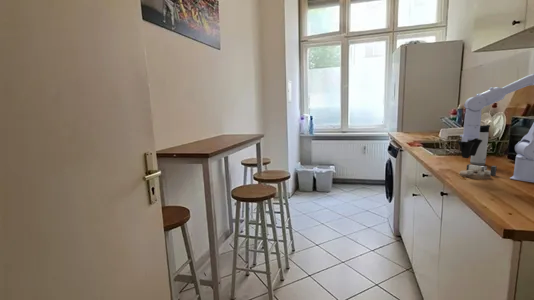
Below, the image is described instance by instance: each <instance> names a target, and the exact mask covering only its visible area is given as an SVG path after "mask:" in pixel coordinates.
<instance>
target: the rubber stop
mask: <svg viewBox="0 0 534 300" xmlns="http://www.w3.org/2000/svg"><path fill="white" fill-rule="evenodd" d="M497 166H498V165H492V166H490V171H491V174H490V175H491V176H492V177H495V176H497V175H496V174H497Z"/></svg>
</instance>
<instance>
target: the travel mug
mask: <svg viewBox="0 0 534 300" xmlns="http://www.w3.org/2000/svg"><path fill="white" fill-rule="evenodd" d="M490 127H491V124H486V125H485V124H484V125H480V133H479V136H480V138H479V139H480V140H482V142H481V143H480V145H479V147H478V149H477V152H476V154H475V156H471V155H470V160H469V161H470V162H469V163H470V164H471V165H477V166H486V160H487V150H488V144H489V143H488V142H489V135H490Z"/></svg>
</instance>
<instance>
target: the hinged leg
mask: <svg viewBox="0 0 534 300" xmlns="http://www.w3.org/2000/svg"><path fill="white" fill-rule="evenodd" d="M465 169H466V170H473V171H475V172H478V171H483V172H484V170H488V166H487V165H474V164H471V163H470V164H469V163H468V164H467V165H466V168H465Z"/></svg>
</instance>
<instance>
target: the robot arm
mask: <svg viewBox="0 0 534 300" xmlns="http://www.w3.org/2000/svg"><path fill="white" fill-rule="evenodd" d="M528 86H534V73H531V74H528V75H526V76H524V77H522V78H520V79H517V80H515V81H513V82H511V83H508V84H507V85H505V86H503V87H499V86H495V87H494V86H492V87H489V88H488V90H486V91H484V92H481V93H476V95H475V96H472V97H471V96H470V97H469V98H466V100H465V102H464V104H463V106H464V108H465V114H464V121H463V122H464V123H463V131H462V134H460V135H459V138H460V137H461V140H458V142H457V143H458V145H459V148H460V151H461V157H462V158H463V159H469V158H470V157H471V156H475V154H476V152H477V149H478V147H479V145H480V143H481V142H482V140H480V139H479V138H480V136H479V133H480V126H481V122H482V110H483V109H484V108H485V107H487V106H491V105H493V104H495V103H498V102H500V101H502V100H503V99H504V98H505V96H506V95H508V94H510V93H513V92H516V91H518V90H521V89H523V88H525V87H528ZM514 151H515V153H516V156H515V160H514V161H515V162H514V167H513V168H514V170H513V175H512V176H510V177H509V179H510V180H515V181H522V182H527V183H528V182H529V183H534V122H533V123H532V125H531V126H530V129H529V130H528V132H527V133H526V134H524V136H523V137H522V138H521V140H520V141H518V142H517V143H516V144H515V145H514Z"/></svg>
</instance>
